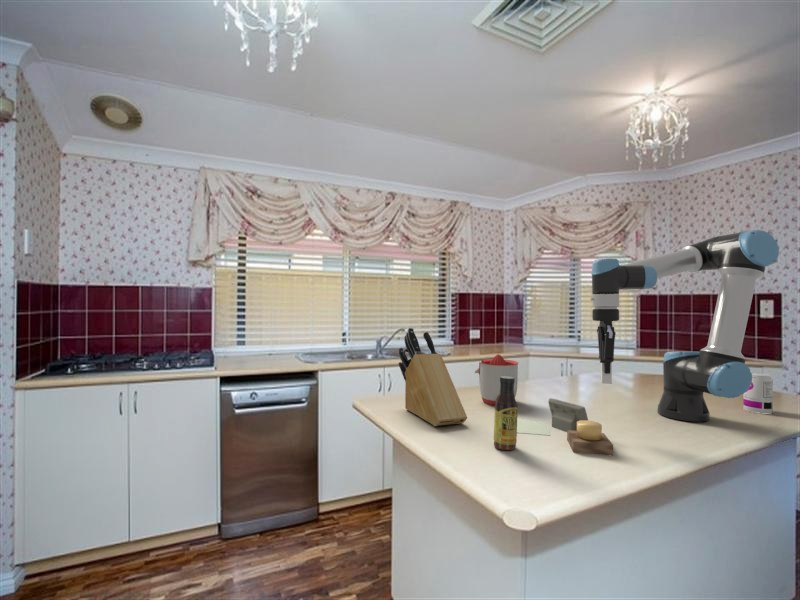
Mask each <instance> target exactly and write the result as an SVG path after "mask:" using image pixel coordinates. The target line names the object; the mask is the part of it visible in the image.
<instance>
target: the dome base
mask: <svg viewBox="0 0 800 600" xmlns="http://www.w3.org/2000/svg"><path fill="white" fill-rule="evenodd" d="M566 441H567V442H568V445H569V447H570V449H571V451H572V452H573V453H574V454H575V453H577V454H586V455H587V454H590V455H599V456H609V455H611V456H612V457H613V456H614V444H613V442H612V441H611V440H610V439H609V438H608V437H607V435H606V434H605V433H604V432H602V439H600V440H583V438H580V437H578V436H577V431H571V430H567V432H566Z"/></svg>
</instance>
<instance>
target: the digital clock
mask: <svg viewBox="0 0 800 600" xmlns="http://www.w3.org/2000/svg"><path fill="white" fill-rule="evenodd" d="M548 406H549V410H550V414H551V427H552V428H553V429H557V430H560V431H563V432H565V433H567V430H571V431H577V421H581V420H587V421H589V419H588V414H587V410H586V407H585V406H582V405H579V404H575V403H571V402H570V401H569V402H567V401H564V400H561V399H557V398H553V397H552V398H551V397H550V398H548Z"/></svg>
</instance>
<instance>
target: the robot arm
mask: <svg viewBox="0 0 800 600" xmlns="http://www.w3.org/2000/svg"><path fill="white" fill-rule="evenodd" d="M779 255H780V248H779V245H778V242H777V240H776V239H775V237H774V236H773V235H772V234H771V233H770V232H768V231H765V230H762V229H761V230H760V229H756V230H755V229H754V230H744V231H741V232H735V233H734V232H733V233H729V234H724V235H717V236H714V237H710V238H709V239H706V240H702V241H700V242H696V243H693V244H690V245H686V246H684V247H683V248H681V249H680V250H677V251H673V252H670V253H665V254H662V255H658V256H654V257H653V256H652V257H650V258H649V257H648V258H646V259H641V260H638V261H633V262H629V263H626V264H621V265H620V263H619V259H618V258H598V259H595V260H593V262H592V265H591V286H592V287H591V288H592V289H591V291H592V292H591V294H592V295H591V296H592V297H590V301H591V302H592V307H593V309H592V310H591V311H592V312H591V313H592V314H591V317H592V320H593V321H595V322H599V325H598V326H597V329H596V332H597V341H598V342H597V343H598V345H597V346H598V359H599V363H600V383H601V384H602V385H603V384H605V385H612V384H613V383H612V380H613V378H612V377H613V376H612V374H613V373H612V363H614V362H615V361H614V358H615V357H614V355H615V354H614V353H615V341H616V331H615V327H614V326H613V322H619V320H620V309H618V308H619V307H620V291H621V290H622V291H624V290H648V289H649V290H650V289H652V288H653V287H654V286H656V284H657V282H658V279H660V278H664V277H668V276H672V275H676V274H682V273H684V272H689V273H696V272H700V271H711V270H712V271H714V270H717V272H718V273H719V274H720V275H721V281H720V285H719V289H718V293H717V294H718V295H717V297H716V298H717V299H716V304H715V308H714V313H713V318H712V321H711V328H710V332H709V336H708V341H707V345H706V346H705V347H703V348H701V349H700V350H699V351H666V352H665V353H664V355H663V361H662V364H663V365H662V367H663V368H662V369H663V372H662V373H663V392H662V395H661V398H660V400H659V402H658V405H657V413H658V415H661V416H663V417H666V418H670V419H674V420H679V421H687V422H698V423H699V422H708V421H710V416H711V415H710V410H709V409H708V406H707V405H708V404H707V403H706V400H705V397H704V393H705V394H706V393H707V394H709V395H712V396H715V397H719V398H721V397H722V398H726V399H733V398H734V399H735V398H738V397H740V396H741V395H743V394H744V393H745V392H746V391H747V390H748V389H749V387H750V385H751V382H752V373H753V372H751V368H750V367H749V365H746V357H745V356H744V355H743V354H742V347H743V343H744V338H745V333H746V330H747V329H746V328H747V326H748V325H747V324H748V320H749V314H750V311H751V305H752V302H753V301H752V300H753V296H754V292H755V287H756V283H757V279H759V278H761V277H762V276H764V275H765V270H766V267H769V266H771V265H773V264H774V263H775V262H776V261H777V260H778V258H779Z"/></svg>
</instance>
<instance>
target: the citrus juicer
mask: <svg viewBox="0 0 800 600" xmlns="http://www.w3.org/2000/svg"><path fill="white" fill-rule="evenodd" d="M518 366H519V362H518V361H515V360H511V359H510V360H509V359H504V358H503V356H502V355H501V354H499V353H498V354H496V355H495V356H494V357H493V358H487V359H486V358H484V359H481V361H479V365H478V368H477V369H475V371H474V374H478V376H479V377H478V378H479V381H478V382H479V383H478V384H479V391H480V395H481V399H482V402H483V403H484V404H486V405H489V406H494V407H495V402H496V399H497V397H498V395H499V394H500V377H501V376H509V377H514V378H515V382H514V397H515V398H516V396H517V391H518V381H519V380H518V379H519V378H518V375H519V371H518Z"/></svg>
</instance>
